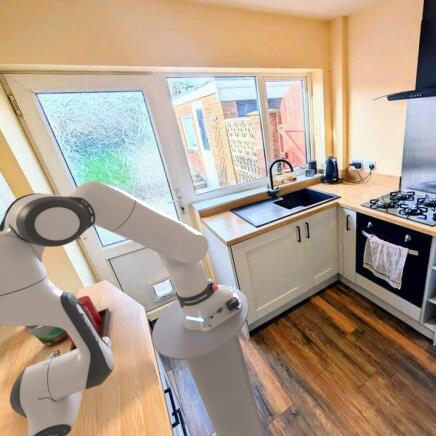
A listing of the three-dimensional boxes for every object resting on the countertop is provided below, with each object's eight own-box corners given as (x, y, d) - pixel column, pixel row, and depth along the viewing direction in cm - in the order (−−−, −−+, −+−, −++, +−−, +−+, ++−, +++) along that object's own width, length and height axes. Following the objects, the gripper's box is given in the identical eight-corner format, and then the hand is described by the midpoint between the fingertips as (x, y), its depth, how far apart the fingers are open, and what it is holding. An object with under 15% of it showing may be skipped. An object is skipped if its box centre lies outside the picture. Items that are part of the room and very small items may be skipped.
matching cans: (102, 316, 102) (90, 293, 98) (99, 336, 93) (85, 312, 88) (87, 322, 100) (73, 299, 95) (82, 343, 90) (66, 319, 85)
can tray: (110, 312, 105) (107, 307, 104) (106, 351, 87) (103, 345, 86) (81, 324, 101) (78, 319, 100) (70, 367, 83) (66, 361, 81)
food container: (50, 353, 89) (36, 333, 85) (40, 349, 91) (25, 330, 87) (85, 326, 99) (74, 307, 95) (75, 323, 101) (64, 304, 97)
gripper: (105, 352, 71) (108, 321, 83) (10, 394, 62) (28, 354, 74) (113, 366, 74) (116, 335, 85) (23, 409, 65) (39, 368, 76)
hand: (74, 344), depth 79 cm, fingers open, 8 cm apart
